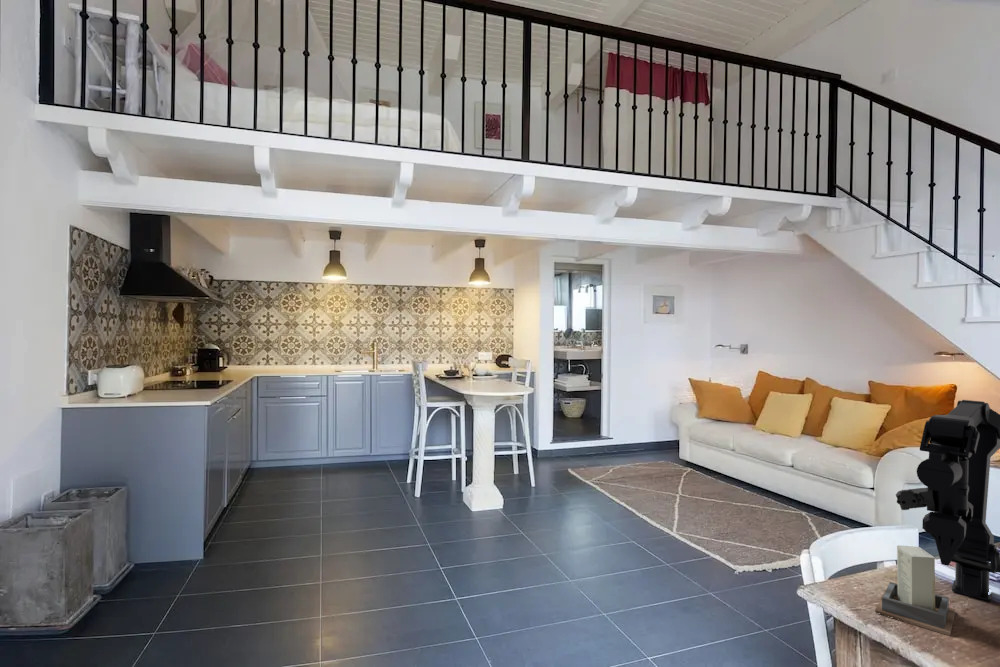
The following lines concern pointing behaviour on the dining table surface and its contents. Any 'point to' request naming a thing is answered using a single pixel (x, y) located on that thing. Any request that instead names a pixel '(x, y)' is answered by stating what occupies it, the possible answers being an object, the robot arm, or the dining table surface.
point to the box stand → (917, 611)
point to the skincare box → (916, 577)
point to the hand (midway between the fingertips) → (947, 557)
